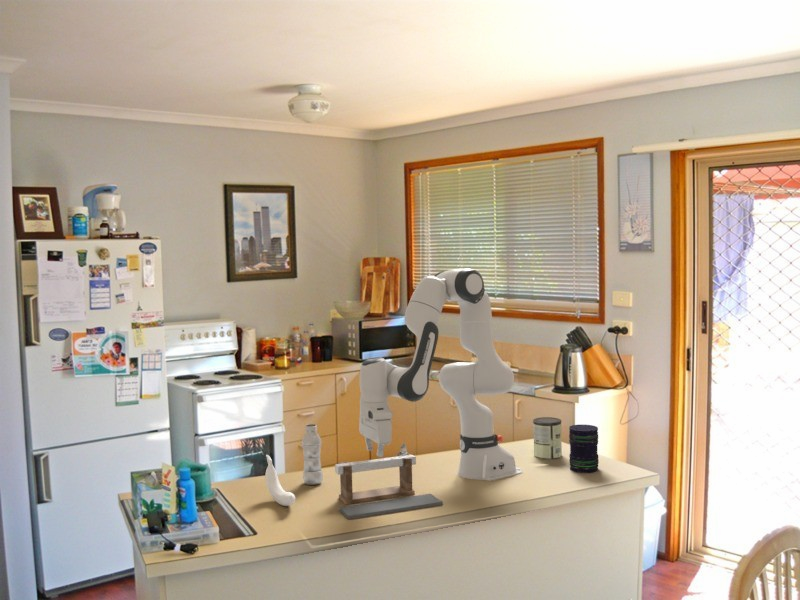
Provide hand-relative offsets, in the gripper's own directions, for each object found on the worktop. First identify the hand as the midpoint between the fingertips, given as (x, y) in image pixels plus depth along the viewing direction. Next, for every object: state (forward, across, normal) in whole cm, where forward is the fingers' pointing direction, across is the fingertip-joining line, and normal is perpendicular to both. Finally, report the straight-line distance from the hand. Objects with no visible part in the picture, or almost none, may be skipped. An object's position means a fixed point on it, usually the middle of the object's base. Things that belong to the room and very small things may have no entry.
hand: (374, 453), depth 250 cm
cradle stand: (+14, 0, 0) cm, 14 cm away
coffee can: (+13, -16, +74) cm, 76 cm away
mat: (+14, +12, +1) cm, 19 cm away
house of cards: (+13, -34, +25) cm, 44 cm away
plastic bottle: (+14, -22, -14) cm, 30 cm away
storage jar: (+13, +4, +76) cm, 77 cm away
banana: (+14, -5, -29) cm, 33 cm away
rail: (+5, 0, 0) cm, 5 cm away
